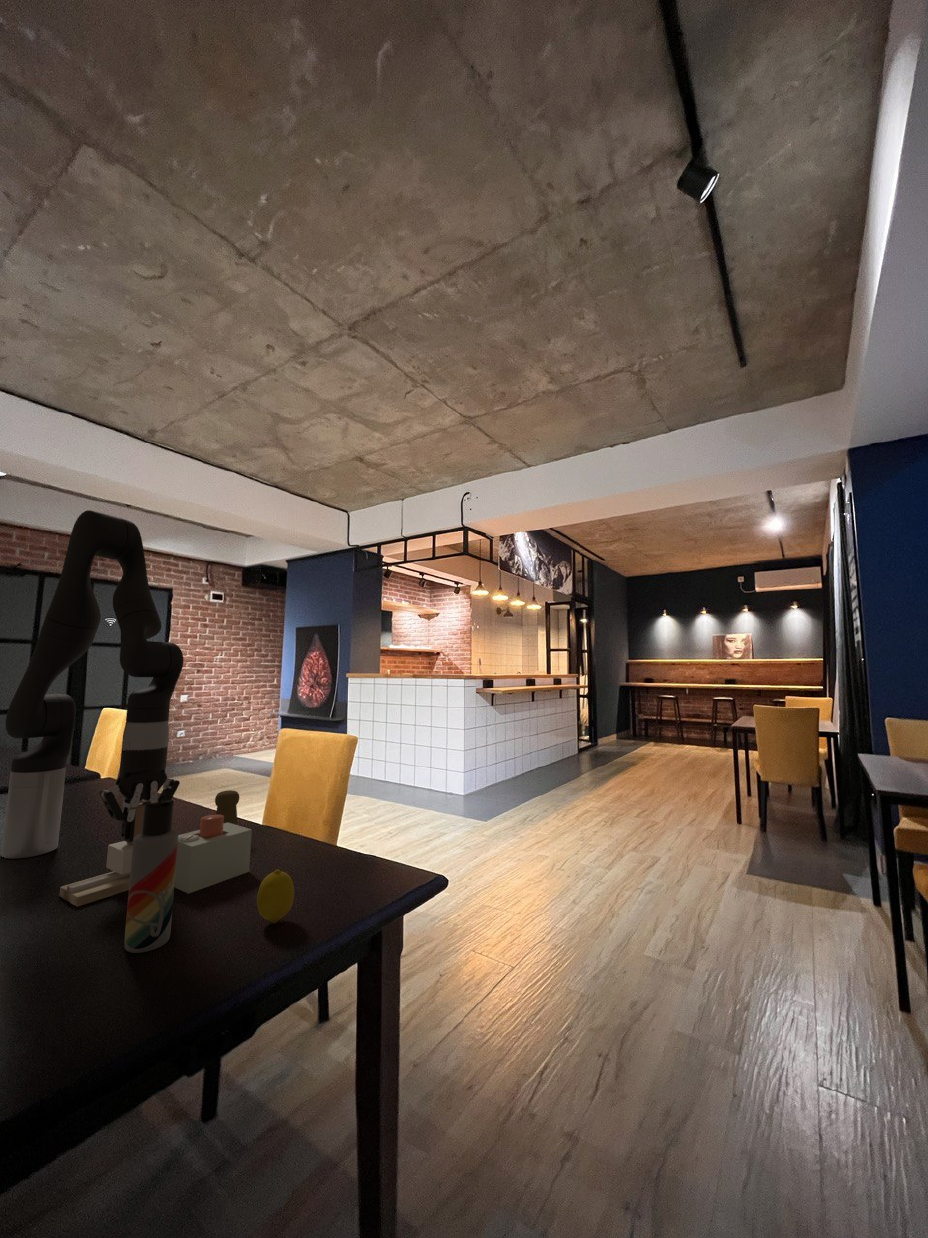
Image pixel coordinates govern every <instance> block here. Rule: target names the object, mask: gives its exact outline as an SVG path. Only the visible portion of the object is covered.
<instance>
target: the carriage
mask: <svg viewBox="0 0 928 1238" xmlns="http://www.w3.org/2000/svg"><path fill="white" fill-rule="evenodd" d="M145 804H148V803H144V802H142V801H141V802H139V805H138V808H137V809H136V812H135V817H134V820H133V821H135V826H134V837H135V836H136V835H138V834H140V833H141V831H142V820H143V810H144V805H145ZM134 837H133V841H134ZM133 841H132V842H126V841H124V840H122V841H118V842H114V843H110V844H108V846H107V855H106V864H105V865H106V866H105V867H106V869H109V870H111V872H117V873H119V874H121V875H124V874H127V873H130V872H131V861H132V850H133Z"/></svg>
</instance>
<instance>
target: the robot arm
mask: <svg viewBox="0 0 928 1238" xmlns="http://www.w3.org/2000/svg"><path fill="white" fill-rule="evenodd" d="M141 535H142V534H141V532H140V530H139V527H138V526H137V525H136V524H135V523H134V522H133V521H130V520H128V519H125V518H122V517H118V516H115V515H111V514H107V513H105V512H101V511H98V510H94V509H93V510H92V509H88V510H85V511H83V512H81V513H80V515H79V516H77V518H76V520H75V522H74V524H73V527H72V530H71V533H70V537H69V540H68V545H67V550H66V553H65V558H64V561H63V566H62V569H61V574H60V576H59V580H58V583H57V586H56V588H55V591H54V594H53V597H52V599H51V602H50V605H49V607H48V609H47V612H46V615H45V618H44V620H43V623H42V625H41V629H40V632H39V635H38V639H37V642H36V644H35V647H34V649H33V652H32V656H31V658H30V660H29V663H28V666H27V669H26V670H25V672H24V674H23V677H22V678H21V680H20V683H19V685H18V687H17V688H16V691H15V693H14V695H13V696H12V697H13V698H12V700H11V701H10V704H9V706H8V708H7V709H8V710H7V713H6V715H5V716H6V717H5V724H4V725H5V730H6V732H7V734H8V735H9V736H10V737H11V738H13V739H33V738H35V739H36V738H42V739H41V741H40V742H39V743H38V744H37V745H35V746H34V747H32V748H31V749H29V750H28V751H25V752H22V753H21V754H17V755H16V756H14V757H13V758H12V760H11V765H10V774H9V782H8V793H7V803H6V808H5V816H4V817H5V818H4V826H3V835H2V844H1V851H0V857H1V856H2V858H3V857H4V859H25V858H31V857H36V856H41V855H44V854H47V853H50V852H52V851H54V850H56V849H57V848H58V846H59V838H60V830H61V820H62V809H63V800H64V791H65V782H66V781H65V779H66V772H67V771H66V770H67V761H68V758H69V756H70V753H71V749H72V741H73V735H74V732H75V725H76V718H77V717H76V716H77V707H76V702H75V700H74V698H73V696H71V695H68V694H65V693H49V694H48V691H49V689H50V687H51V685H52V684H53V683H54V682H55V680H56V679H57V678H58V677H59V675H60V674H62V673H63V672H64V671H65V670H67V669H68V668H69V667H70V666H71V665H73V664H74V663H75V662H76V661H77V660H79V659H80V658H81V657H82V656H83V655H84V654H85V653H86V652H87V651H88V650H89V649H90V648H91V647H92V644H93V642H94V640H95V637H96V634H97V632H98V630H99V626H100V623H101V618H102V615H101V609H100V606H99V603H98V600H97V597H96V595H95V593H94V590H93V586H92V583H91V572H92V567H93V564H94V560H95V557H100V558H104V559H109V560H113V561H117V562H118V564H119V566H120V567H121V570H122V576H121V579H120V580H119V582H118V584H117V586H116V588H115V590H114V592H113V596H112V608H113V611H114V615H115V617H116V621H117V623H118V627H119V630H120V647H119V648H120V649H119V650H120V652H119V664H120V666H121V669H122V670H123V671H124V673H126V674H127V675H128V676H130V677H131V678H152V680H151V681H150V683H149V685H148V687H146V688H143V689H139V690H134V691H133V692H131V693H130V694H129V696H128V699H127V703H126V704H127V705H126V716H125V724H124V728H123V732H122V741H121V750H120V751H121V752H120V762H119V776H118V778H117V780H116V782H115V785H113V786H111V787H109V788H108V789H102V790H100V792H99V796H100V799H101V800H102V802H103V804H104V806H105V809H106V811H107V812H108V815H109V816H110V818H112V819H114V820H117V821H119V822H120V821H121V830H120V838H121V839H123V841H126V842H132V841H133V837H134V826H135V821H133V820H134V817H135V812H136V809H137V808H138V805H139V803H140V801H141V803H142V802H144V803H148V804H150V803H155V802H160V801H164V800H172V799H173V797H174V795H175V794H176V792H177V790H178V788H179V786H180V780H178V779H173V778H169V777H168V775H167V773H166V768H167V764H168V763H167V762H168V761H167V759H168V751H169V749H168V747H169V742H170V738H169V736H170V727H169V721H170V720H169V718H170V710H171V699H172V696H173V694H174V691H175V689H176V687H177V686H176V685H177V684H178V681H179V678H180V675H181V672H182V671H183V668H184V667H183V666H184V659H185V658H184V655H183V651H182V649H181V648H180V646H179V645H178V644H175V643H173V642H168V641H151V640H148V639H151V638H153V637H155V636H157V635H158V634H159V633H160V632H161V631H162V621H161V617H160V616H159V611H158V610H157V607H156V604H155V602H154V599H153V596H152V594H151V593H152V592H151V590H150V584H149V581H148V580H149V579H148V572H147V565H146V564H147V563H146V557H145V550H144V544H143V539H142V536H141ZM161 788H162V790H161ZM160 790H161V792H160V794H159V796H158V792H159V791H160ZM119 793H120V794H121V795H122V796H123V800H122V805H121V806H122V809H121V807H120V804H119V803H118V801H117V798H118V797H119Z"/></svg>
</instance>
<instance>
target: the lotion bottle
mask: <svg viewBox="0 0 928 1238" xmlns="http://www.w3.org/2000/svg"><path fill="white" fill-rule="evenodd" d="M174 806H175V802H174V800H172V799H171V800H164V801H160V802H155V803H150V804H145V805H144V810H143V820H142V831H141V833H140V834H138V835H136V836H135V837H134V841H133V850H132V861H131V872H130V883H129V890H128V896H127V907H126V917H125V918H126V920H125V930H124V931H125V933H124V942H123V943H124V949H125V951H126V952H128V953H132V954H133V953H134V954H141V953H146V952H147V953H148V952H149V951H150V952H151V951H154V950H156V949H158V948H160V947H162V946H164V945H165V944H167V942H168V941H169V940H170V937H171V931H172V919H173V918H172V917H173V905H174V895H175V894H174V893H175V887H174V883H175V871H176V858H177V845H178V835H179V832H178V831H177V830H176V829H173V821H174Z"/></svg>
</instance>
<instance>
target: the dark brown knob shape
mask: <svg viewBox="0 0 928 1238" xmlns="http://www.w3.org/2000/svg"><path fill="white" fill-rule="evenodd" d="M239 801H240V793H239V792H238V791H236V790H228V789H227V790H224V791H220V792H218V793H216V795H215V799H214V804H215V806H216V811H215V815H223V816H224V822H223V824H224V823H232V824H235V825H238V826H239V824H238V811H237V810H238V809H237V807H238V806H237V805H238V804H239Z"/></svg>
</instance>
